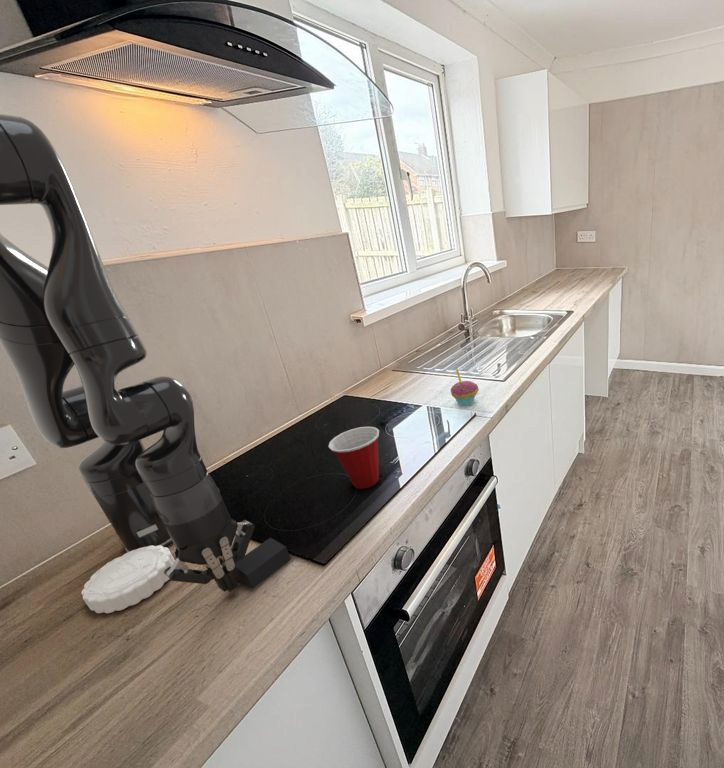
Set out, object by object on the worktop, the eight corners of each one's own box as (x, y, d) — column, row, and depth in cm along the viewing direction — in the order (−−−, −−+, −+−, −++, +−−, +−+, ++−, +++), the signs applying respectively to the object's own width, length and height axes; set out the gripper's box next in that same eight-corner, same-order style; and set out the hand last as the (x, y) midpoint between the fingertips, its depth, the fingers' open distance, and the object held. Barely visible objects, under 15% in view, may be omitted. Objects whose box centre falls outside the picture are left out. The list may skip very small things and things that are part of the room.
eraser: (237, 576, 72) (231, 564, 71) (275, 549, 78) (270, 537, 76) (252, 588, 70) (246, 575, 69) (291, 559, 75) (286, 546, 74)
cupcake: (447, 407, 127) (441, 371, 122) (462, 395, 134) (457, 361, 129) (470, 411, 123) (465, 374, 119) (485, 399, 130) (481, 364, 125)
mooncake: (174, 546, 80) (166, 532, 79) (179, 583, 72) (171, 568, 71) (91, 583, 73) (81, 569, 72) (87, 629, 65) (75, 613, 64)
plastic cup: (372, 462, 102) (362, 419, 98) (399, 476, 96) (389, 432, 91) (332, 485, 95) (318, 440, 90) (357, 502, 88) (344, 455, 84)
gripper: (224, 475, 69) (258, 552, 76) (128, 525, 59) (176, 609, 66) (248, 487, 66) (281, 567, 73) (149, 543, 55) (198, 630, 62)
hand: (231, 587), depth 69 cm, fingers closed
